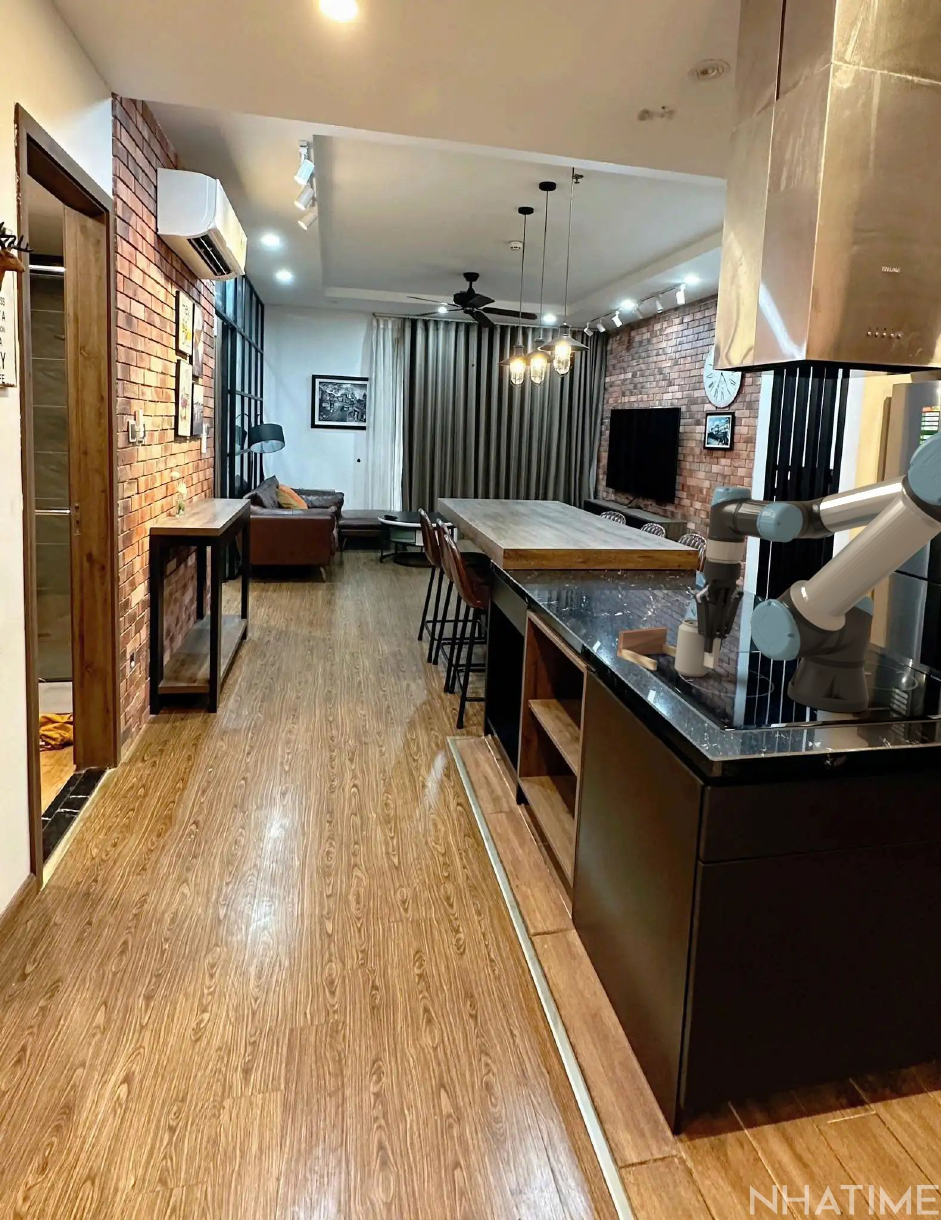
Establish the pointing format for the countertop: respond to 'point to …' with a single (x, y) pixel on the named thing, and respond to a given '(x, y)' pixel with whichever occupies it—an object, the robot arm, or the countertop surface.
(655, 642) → the wooden bracket
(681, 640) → the can
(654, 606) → the countertop surface
